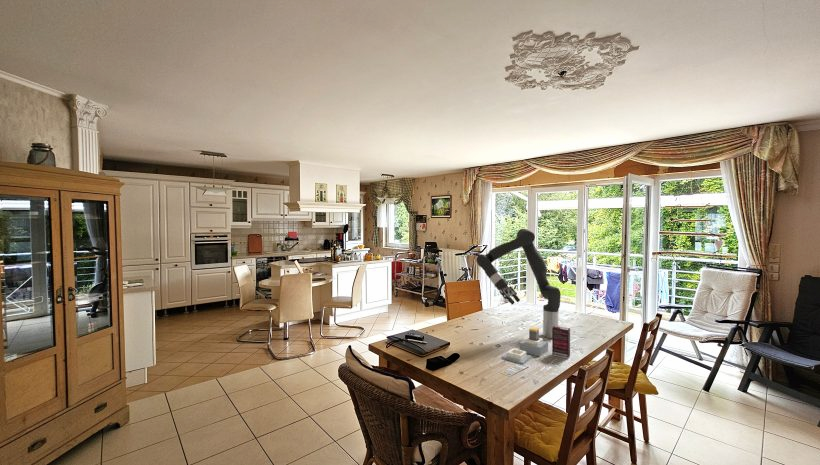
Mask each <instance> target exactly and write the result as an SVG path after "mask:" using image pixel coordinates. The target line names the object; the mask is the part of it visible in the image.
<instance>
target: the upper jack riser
mask: <svg viewBox="0 0 820 465" xmlns="http://www.w3.org/2000/svg"><path fill="white" fill-rule="evenodd" d="M519 350H522V351H526V354H528V355H529V354H530V355H533V356H537V357H542V356H543V355H544V354H546V353H547V352H548V351H549V342H548V341H546V340H544V339H543V338H541V337H539V340H538V341H534V340H530V339H529V336H527V337H526V338H525V339H523V340H521V341H520V342H519Z"/></svg>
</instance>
